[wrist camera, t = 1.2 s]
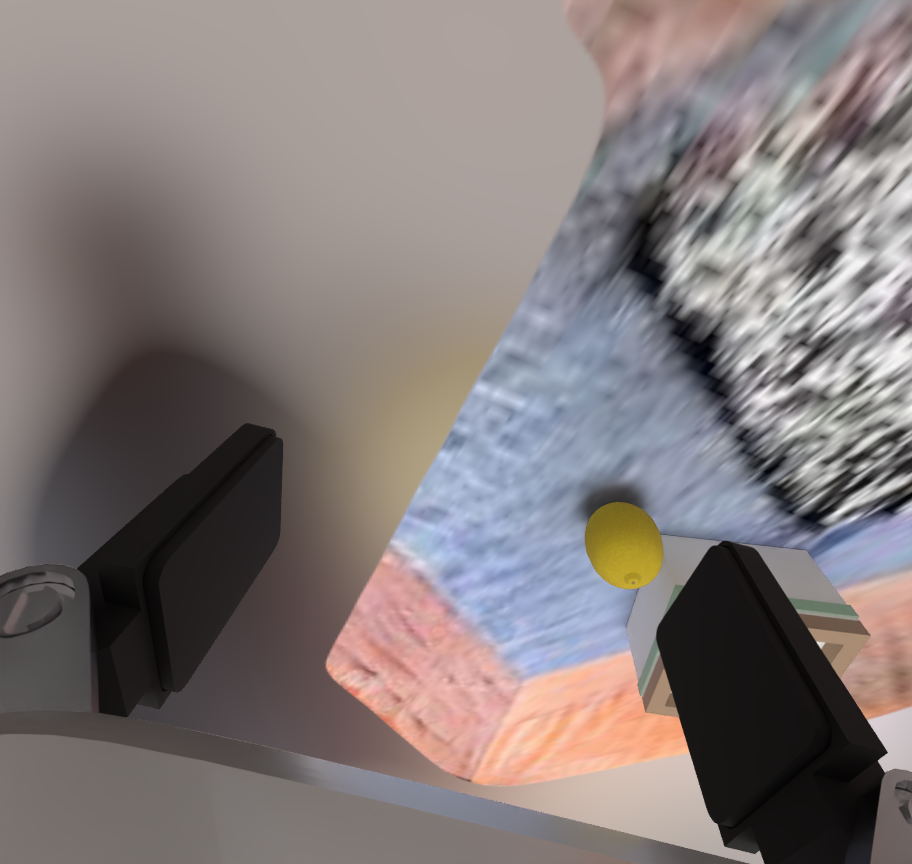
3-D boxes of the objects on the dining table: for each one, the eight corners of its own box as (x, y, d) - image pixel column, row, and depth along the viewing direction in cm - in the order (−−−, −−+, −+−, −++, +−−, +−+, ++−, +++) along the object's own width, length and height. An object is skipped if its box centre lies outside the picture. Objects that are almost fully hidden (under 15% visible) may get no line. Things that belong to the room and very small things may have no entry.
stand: (807, 549, 38) (873, 635, 31) (755, 645, 44) (800, 735, 37) (656, 533, 39) (685, 611, 32) (624, 628, 45) (643, 713, 38)
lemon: (594, 475, 37) (611, 543, 31) (660, 493, 38) (692, 565, 31) (570, 525, 40) (580, 599, 33) (631, 542, 40) (654, 619, 33)
